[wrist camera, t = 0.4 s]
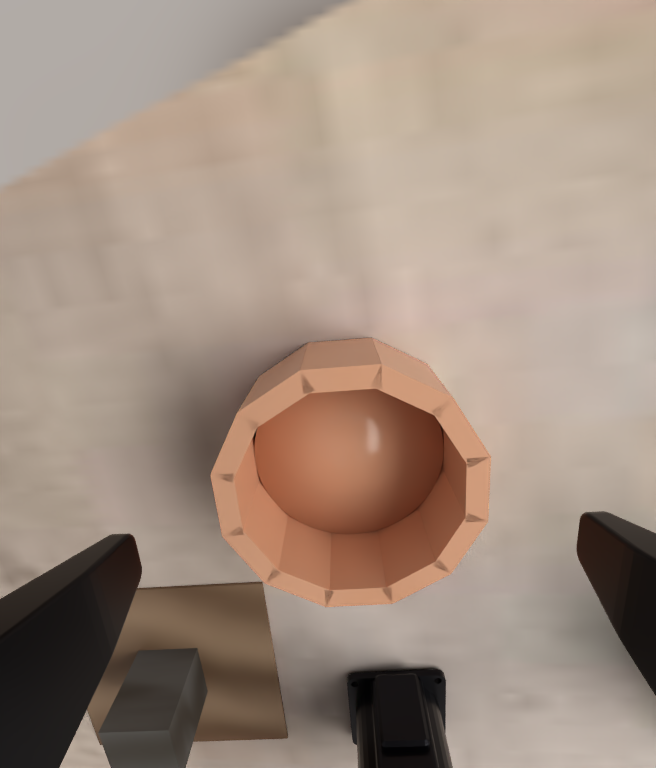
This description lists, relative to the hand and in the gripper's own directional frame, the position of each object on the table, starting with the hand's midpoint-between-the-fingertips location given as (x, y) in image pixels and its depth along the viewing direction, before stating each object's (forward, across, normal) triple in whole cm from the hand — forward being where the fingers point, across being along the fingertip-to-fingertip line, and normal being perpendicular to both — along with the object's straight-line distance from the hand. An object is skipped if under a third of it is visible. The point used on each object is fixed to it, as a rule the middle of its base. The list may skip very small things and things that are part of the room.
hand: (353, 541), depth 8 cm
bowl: (+14, 0, +5) cm, 15 cm away
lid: (+15, +13, +21) cm, 29 cm away
